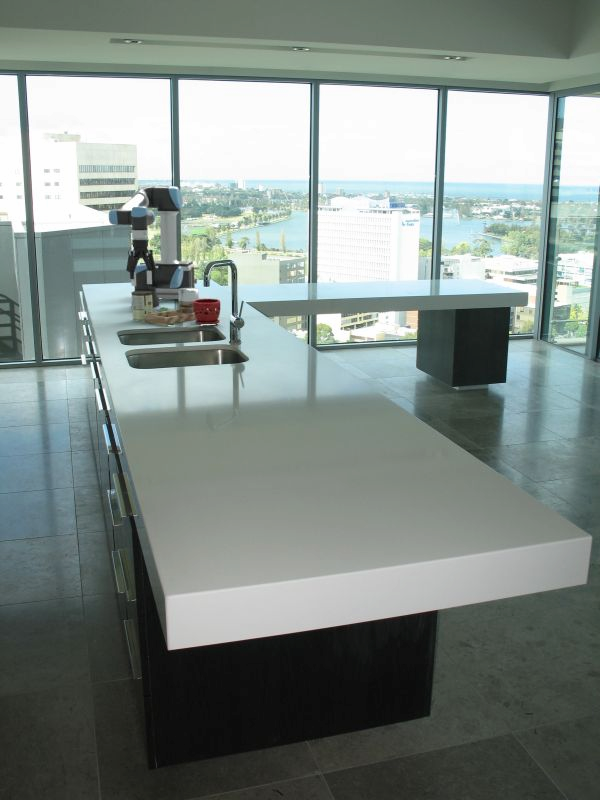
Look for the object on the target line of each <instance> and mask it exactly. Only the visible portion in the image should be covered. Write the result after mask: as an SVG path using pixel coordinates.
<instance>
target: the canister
mask: <svg viewBox="0 0 600 800" xmlns="http://www.w3.org/2000/svg"><path fill="white" fill-rule="evenodd" d="M198 299H199V288H196V287H195V288H181V289H178V300H177V301H178V302H177V306H178V309H179V312H180V313H186V314H191V313H194V308H193V301H195V300H198Z"/></svg>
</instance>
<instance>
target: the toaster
mask: <svg viewBox="0 0 600 800" xmlns="http://www.w3.org/2000/svg"><path fill="white" fill-rule="evenodd" d="M159 261H160V260H154V263H155V266H158V262H159ZM177 261H178V262H179V263H180V266H181V267H182V268H183V279H182V283H181V285H180V286H179V287H177V288H164V287H156V294H157V297H158V298H164V299H178V289H181V288H196V286H195V285H197V283H198V279H197V278H195V270H199V269H200V267H197V266H196V267H195V264H193V260H191V261H190V260H177ZM141 264H145V262H144V261H141V262H139V265H141ZM164 299H163V300H164Z"/></svg>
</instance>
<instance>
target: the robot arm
mask: <svg viewBox="0 0 600 800" xmlns="http://www.w3.org/2000/svg"><path fill="white" fill-rule="evenodd" d="M182 208H183V196H182V192H181V190H180V189H179V187H178V186H175V185H174V186H172V185H149V186H145V187H143V188H141V189H138V190H137V191H135V192H134V193H133V194H132V195H131V198H130V199H129V200H128V201H126V203H124V204H122V206H121V207H120V208H118V209H110V210H109V212H108V221H109V223H110V224H111V225H112V226H113V225H115V226H131V237H132V241H131V242H132V243H131V244H132V248H133V250H128V252H127V255H128V258H127V262H126V269H125V270H126V272H128V273H129V279H130V281H131V283H130V284H131V286H132V287H134V291H151V292H152V301H153V308H157V307H156V306H158V307H160V306H159V305H160V299H158V297H157V294H156V287H164V288H177V287H179V286H180V285H181V283H182V279H183V268H182V267H181V266H180V263H179V262H178V261H179V260H178V259H177V257H178V256H177V252H178V251H177V250H178V249H177V246H178V245H177V242H178V241H177V215H178V214H179V213H180V210H181V209H182ZM149 209H156V211H157V213H158V214H159V218H160V220H159V221H160V223H159V224H160V225H159V226H160V260H158V261H159V262H158V266H155V263H154V261H155V259H154V255H153V253H154V251H153V249H148V248H149V240H148V238H149V236H148V235H149V234H148V233H149V231H148V230H149V229H148V226H149V227H150V226H151V225H153V224H154V222H156V214H155V213H154V211H152V210H149ZM141 259H142V260H143V262H145V264H141V265H140V264H138V262H139V260H141Z"/></svg>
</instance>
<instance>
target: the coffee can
mask: <svg viewBox="0 0 600 800" xmlns="http://www.w3.org/2000/svg"><path fill="white" fill-rule="evenodd" d="M131 307H132V308H131V309H132V321H133V322H137V321H139V322H141V323H145V321H144V314H150V313H153V311H154V307H153V301H152V292H151V291H135V290H134V291H131Z"/></svg>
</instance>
